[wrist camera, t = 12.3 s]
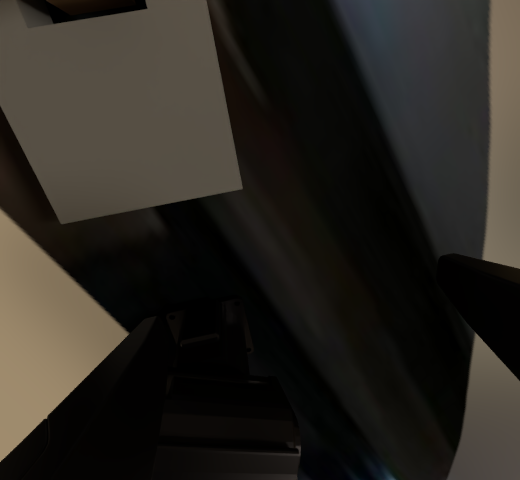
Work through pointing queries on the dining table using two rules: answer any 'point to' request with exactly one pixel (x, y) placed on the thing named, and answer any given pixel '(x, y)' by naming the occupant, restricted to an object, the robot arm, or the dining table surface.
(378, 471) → the dining table surface
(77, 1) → the wooden square peg
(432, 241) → the dining table surface
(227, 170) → the block with square hole
